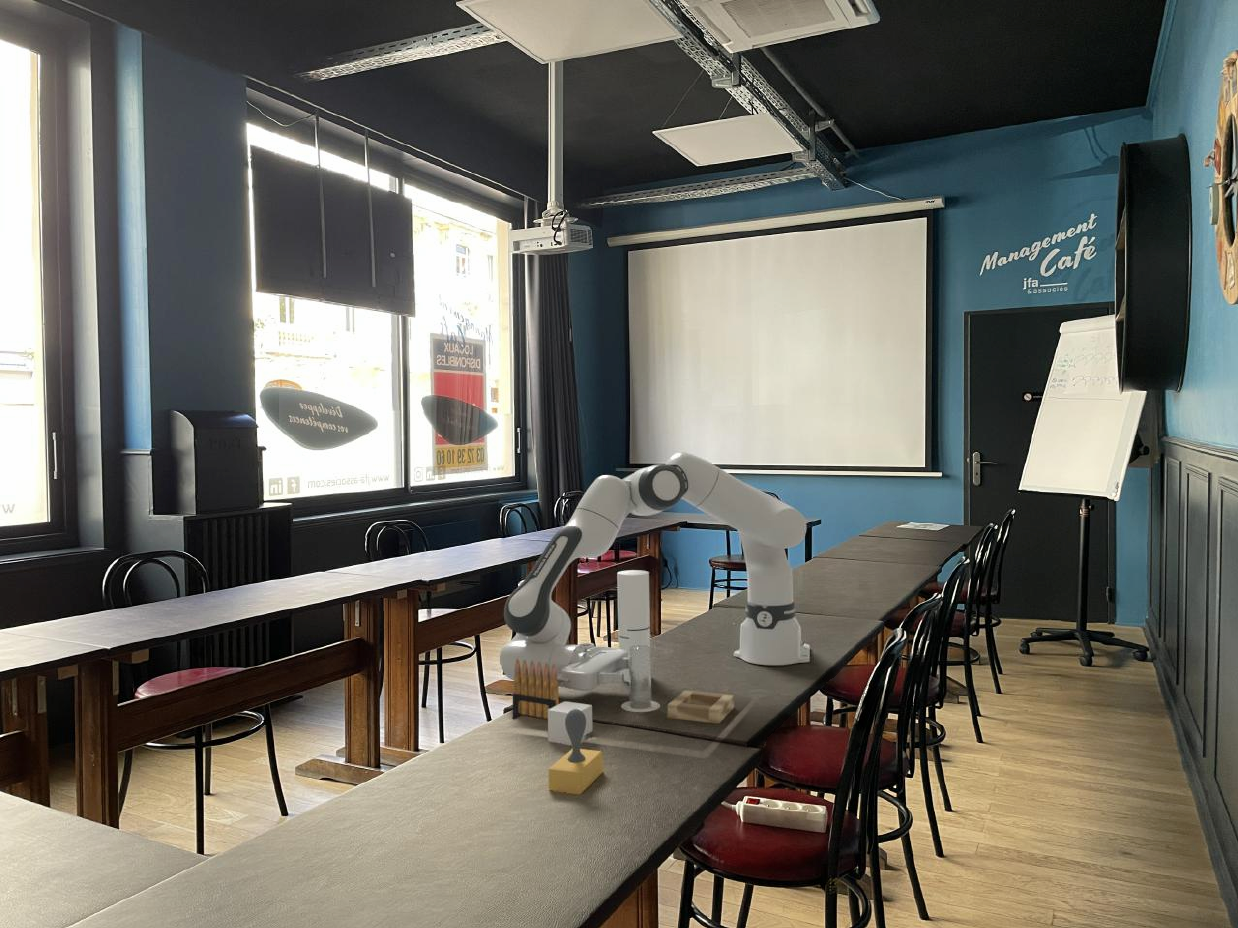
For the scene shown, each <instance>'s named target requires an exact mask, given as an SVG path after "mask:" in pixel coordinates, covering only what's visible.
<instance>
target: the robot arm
mask: <svg viewBox="0 0 1238 928" xmlns="http://www.w3.org/2000/svg"><path fill="white" fill-rule="evenodd" d="M680 500H684V501H685V502H686V503H688V504H690V505H691V506H693V507H695V508H696V509H698V510H699V511H701V512H703V513H704V514H707V515H709V516H710V517H712V518H714V519H715V520H717V521H719V522H721V523H723V524H725V525H727V526H729V527H731V528H733V529H735V530H737V533H738V535H739V537H740V542H741V547H742V552H743V556H744V557H743V558H744V560H745V562H744V563H745V565H746V566H745V568H746V576H747V577H746V580H747V581H746V582H747V601H746V602H745V616H746V618H745V620H744V621H743V622H742V623H741V624H740V630H739V649H737V650H735V651H734V652H733V657H735V658H739V659H741V660H743V661H745V662H747V663H750V664H755V665H759V666H760V665H762V666H788V665H793V664H799V663H802V664H803V663H809V662H810V660H811V656H810V654H811V647H810V646H811V645H809V644H807V643H805V641H804V640H802V632H801V631H802V630H801V629H802V628H801V626H800V624H799V621H798V620H797V618H796V615H797V614H796V613H797V612H796V611H797V610H796V609H797V608H796V601H795V599H794V588H793V587H794V582H793V581H794V578H793V577H794V575H793V573H794V572H793V568H792V566H791V565H790V563H789V560H788V558H787V554H786V550H785V549H790V548H793V547H794V548H795V547H797V546H798V545H799V544H801V542H802V541H803V540H804V538H805V537H806V533H807V522H806V518H805V517H804V515H803V514H802V512H800V511H799V510H797V509H796V508H795V507H793V506H792V505H789V504H788V503H785V502H783V501H781V500H780V499H779V498H776V497H775V496H772V495H771V494H769V493H766V492H764V491H762V490H760V489H758V488H756V487H755V486H752V485H750V484H748V483H745V482H744V481H742V480H740V479H738V477H735V476H733V475H732V474H730V473H728V472H727V471H725V470H723V469H722V468H721V467H718V466H716V465H715V464H713V463H712V462H709V461H708V460H706V459H703V458H702V457H698V456H696V455H694V454H690V453H687V452H684V451H683V452H682V451H680V452H676V453H675V454H673V455H671V456H670V457H669V458H668V459H667V461H666V462H665V463H660V464H659V463H657V464H652V465H650V466H647V467H642V468H640V469H638V470H636V471H635V472H634V473H631V474H629V475H627V476H624V477H623V478H622V479H621V478H620V477H617V476H614V475H611V474H605V475H604V474H603V475H600V476H598V477H596V478H595V479H594V481H593V482H592V483H591V484H590V486H589V487H588V488H587V490H586V491H585V492H584V494H583V496H582V498H581V499H580V501H579V502H578V504H577V506H576V508H575V510H574V512H573V513H572V515H571V518H570V519H569V520H568V522H567V523H566V524H565V525H564V526H563V527H561V528H560V529H559V530H557V532H555V534H554V535H553V537H552V538H551V539H550V541H549V542H548V544H547V545H546V546H545V548H544V550H542V553H541V555H540V556H539V558H538V559H537V561H535V564H534V566H533V567H532V568H531V569H530V571H529V573H528V575H527V576H526V577H525V578H524V580H523V581H522V582H521V583H520V584H519V585H518V586H517V587H516V588H515V589H514V590H513V591H512V592H511V594H509V596H508V597H507V599H506V601H505V604H504V608H503V618H504V622H505V624H506V626H507V627H508V629H510V630H511V631H512V632H514V633H516V634H515V636H514V637H512V639H510V640H509V641H508V642H506V643H504V644H503V646H502V647H501V650H500V655H499V663H500V668H501V670H502V672H503V674H504V676H506V677H507V678H508V679H510V680H512V681H514V677H515V663H516V660H517V659H518V660H519V663H520V668H521V678H522V665H523V661H524V660H526V663H527V668H528V678H529V668H530V663H531V661H533V663H534V667H535V676H536V671H537V665H538V662H540V664H541V667H542V676H543V677H544V667H545V664H546V663H547V664H548V667H549V673H550V683H551V669H552V665H553V664H555V667H556V671H557V682H558V688H566V689H570V690H577V691H583V692H590V691H592V690H594V689H596V688H597V687H599V686H601V685H605V684H614V683H615V684H622V682H624V681H623V680H624V674H623V673H619V672H620V671H622V670H623V669H629V658H628V652H627V651H625V650H623V649H619V648H617V647H609V646H602V645H600V646H598V645H597V646H595V644H594V643H592V642H585V643H581V644H568V640H569V638H570V635H571V630H572V621H571V617H570V616H569V614H568V613H567V612H566V611H565V610H564V609H563V608H562V607H561V606H559V604H557V603H555V602H554V601H553V600H552V593H553V590H554V589H555V587H556V586H557V584H558V582H559V581H560V579H561V578H562V576H563V575H564V573H565V571H566V570H567V568H568V566H569V565H570V564H571V563H572V562H573V561H574V560H576V559H578V558H585V559H594V558H597V557H600V556H603V555H604V554H606V553H607V552H608V550H609V549H610V548H611V547H612V546H613V543H614V542H615V540H616V538H617V535H618V533H619V532H620V529H621V527H622V525H623V523H624V521H625V519H626V518H627V516H630V517H633V518H634V517H635V518H644V517H648V516H655V515H657V514H659V513H662V512H664V511H667V510H669V509H672V508H673V507H674V506H676V505H677V504H678V502H679V501H680Z"/></svg>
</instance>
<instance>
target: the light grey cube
mask: <svg viewBox="0 0 1238 928" xmlns="http://www.w3.org/2000/svg"><path fill="white" fill-rule="evenodd" d="M573 709H578V710H580V711H582V712H583V713H584V715H585V717H586V728H585V731H584V734H583V737H582V740H581V744H583V743H584V742H585V741H587V740H589V739H591V738H592V737H593V735H588V734H590V733H592V732H593V706H592V704H586V703H581V702H580V703H579V702H572V701H565V700H564V701H563V702H560V704H558V705H556V706H555V707H553V708H551V709H549V710H548V720H547V732H548V733H547V734H548V735H547V736H548V738H547V739H548V742H550V743H555V742H556V743H555V744H560V743H561V745H566V746H572V743H571V740H570V738H569V736H568V733H567V730H566V727H565V719H566V716H567V714H568V712H569V711H571V710H573Z"/></svg>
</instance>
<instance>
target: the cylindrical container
mask: <svg viewBox="0 0 1238 928" xmlns="http://www.w3.org/2000/svg"><path fill="white" fill-rule="evenodd" d="M616 574H617V576H616V578H617V622H618V623H617V625H618V628H617V629H618V634H617V635H618V649H623V650H625V651H627V652H628V658H629V647H630V646H633V645H647V646H650V647H651V621H650V620H651V619H650V618H651V616H650V612H651V611H650V572H649V571H646V570H640V569H639V570H638V569H637V570H635V569H631V570H630V569H629V570H621V571H618V572H617V573H616ZM619 673H623V674H624V680H623V681H622V682H626V683H629V669H623V670H622V671H620V672H619Z"/></svg>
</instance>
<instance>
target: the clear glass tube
mask: <svg viewBox="0 0 1238 928" xmlns="http://www.w3.org/2000/svg"><path fill="white" fill-rule="evenodd" d="M651 665H652V664H651V645H650V646H647V645H633V646H630V647H629V682H628V684H629V685H628V686H629V687H628V688H629V690H628V691H629V701H630V707H631V708H634V709H646V708H650V707H651V701H652V675H651V673H652V670H651V669H652V667H651Z"/></svg>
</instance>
